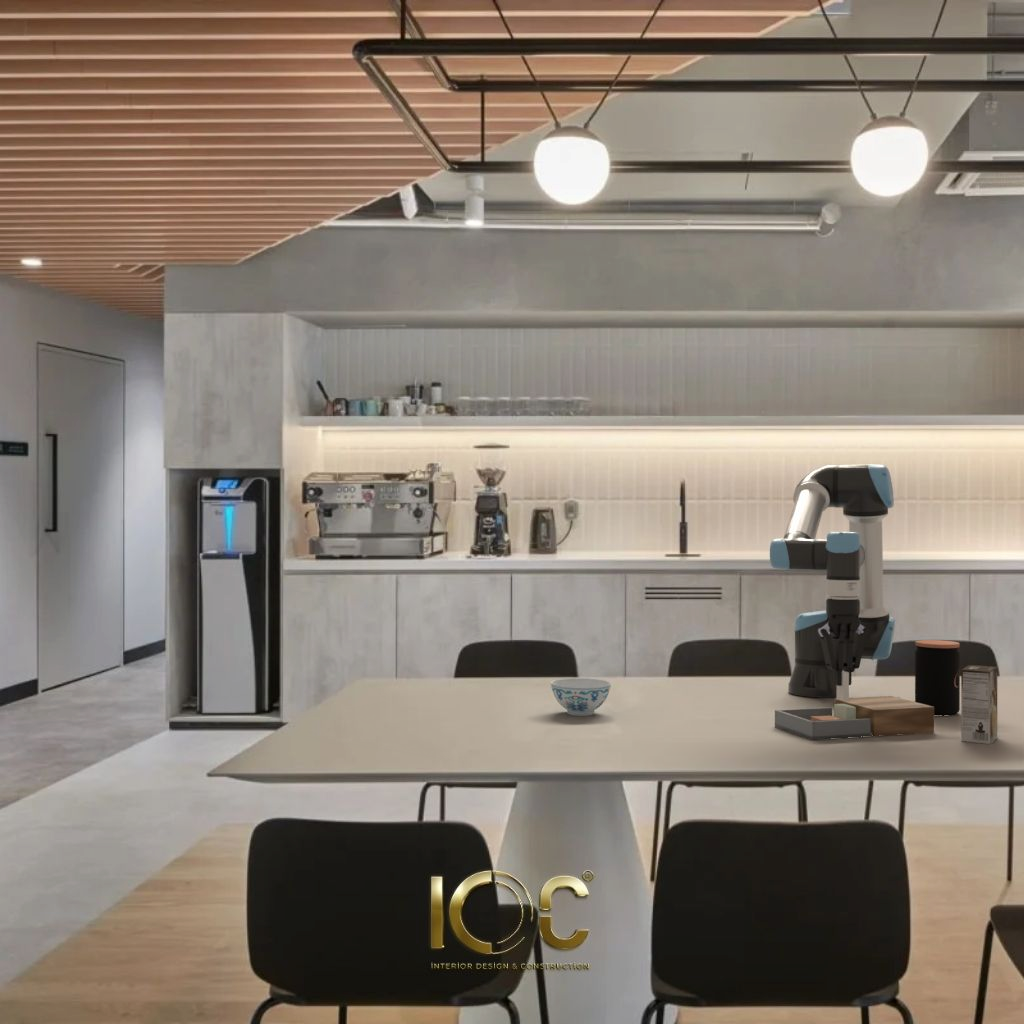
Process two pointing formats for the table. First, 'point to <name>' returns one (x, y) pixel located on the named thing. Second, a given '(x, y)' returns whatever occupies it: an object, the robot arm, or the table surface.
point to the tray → (820, 724)
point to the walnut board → (893, 715)
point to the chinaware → (580, 694)
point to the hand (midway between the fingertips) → (842, 699)
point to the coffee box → (979, 704)
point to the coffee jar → (938, 675)
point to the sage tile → (844, 711)
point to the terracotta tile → (823, 718)
